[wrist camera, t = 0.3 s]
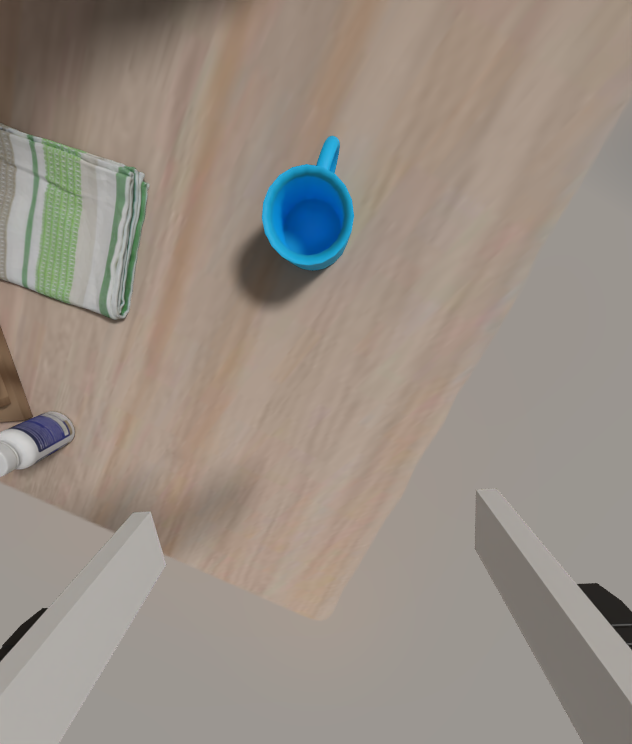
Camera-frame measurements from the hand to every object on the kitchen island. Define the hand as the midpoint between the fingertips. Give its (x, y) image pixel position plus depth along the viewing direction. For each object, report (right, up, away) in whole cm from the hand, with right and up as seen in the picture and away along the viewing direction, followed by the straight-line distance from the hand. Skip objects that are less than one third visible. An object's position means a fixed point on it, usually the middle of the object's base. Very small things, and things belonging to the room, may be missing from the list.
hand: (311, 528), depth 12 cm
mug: (0, +24, +22) cm, 33 cm away
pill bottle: (-36, -1, +31) cm, 48 cm away
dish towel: (-32, +24, +24) cm, 47 cm away
